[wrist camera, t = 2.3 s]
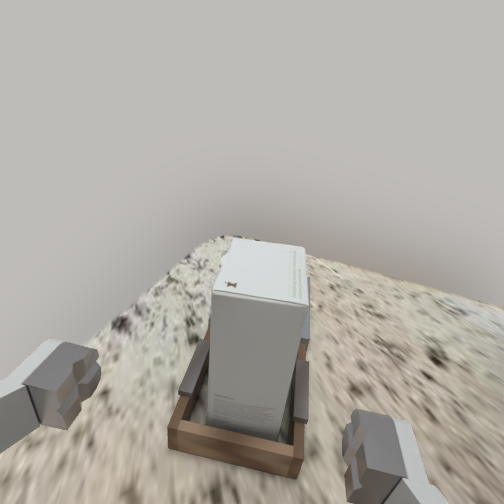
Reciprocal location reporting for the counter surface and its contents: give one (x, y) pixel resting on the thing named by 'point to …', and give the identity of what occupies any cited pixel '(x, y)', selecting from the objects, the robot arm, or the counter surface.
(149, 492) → the counter surface
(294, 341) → the skincare box
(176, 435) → the walnut caddy
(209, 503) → the counter surface
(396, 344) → the counter surface
